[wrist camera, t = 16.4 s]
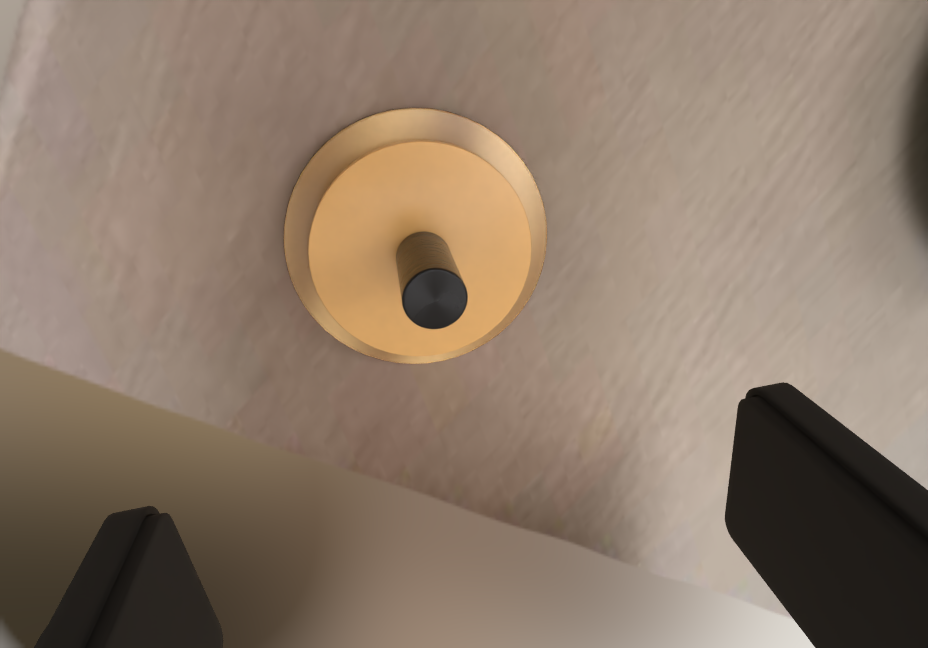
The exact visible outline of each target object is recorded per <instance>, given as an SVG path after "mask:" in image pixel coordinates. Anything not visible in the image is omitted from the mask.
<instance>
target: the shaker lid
mask: <svg viewBox="0 0 928 648" xmlns="http://www.w3.org/2000/svg"><path fill="white" fill-rule="evenodd" d="M531 251H532V246H531V233H530V227H529V222H528V219H527V215H526V212H525V209H524V207H523V205H522V203H521V201H520V199H519V197H518V195H517V193H516V192H515V190H514V189H513V187H512V186H511V184H510V183H509V182H508V181H507V180H506V179H505V177H504V176H503V175H502V174H501V173H500V172H499V171H498V170H497V169H495V168H494V167H493V166H492V165H491V164H490V163H488V162H487V161H486V160H484V159H483V158H481V157H479V156H478V155H476V154H475V153H473V152H471V151H468V150H466V149H464V148H462V147H459V146H456V145H453V144H449V143H446V142H440V141H433V140H409V141H400V142H396V143H392V144H388V145H385V146H382V147H380V148H377V149H375V150H372V151H370V152H368V153H367V154H365V155H363V156H361V157H360V158H358V159H356V160H355V161H354V162H353V163H351V164H350V165H349V166H347V167H346V168H345V169H344V170H343V171H342V172H341V173H340V174H339V175H338V176H337V177H336V178H335V179H334V180H333V182H332V183H331V185H330V186H329V187H328V189H327V190H326V192H325V193H324V195H323V197H322V199H321V201H320V203H319V205H318V207H317V210H316V212H315V215H314V218H313V221H312V225H311V230H310V235H309V245H308V256H309V267H310V272H311V276H312V280H313V283H314V286H315V288H316V291H317V294H318V295H319V297H320V299H321V301H322V303H323V305H324V306H325V308H326V309H327V310H328V312H329V313H330V315H331V316H332V317H333V318H334V319H335V320H336V321H337V323H338V324H339V325H340V326H341V327H342V328H344V329H345V330H346V331H347V332H349V333H350V334H351V335H352V336H354V337H355V338H357V339H359V340H360V341H362V342H363V343H365V344H368V345H370V346H372V347H374V348H376V349H379V350H382V351H385V352H388V353H393V354H398V355H404V356H432V355H438V354H444V353H447V352H451V351H455V350H457V349H460V348H462V347H465V346H467V345H469V344H471V343H473V342H475V341H477V340H478V339H480V338H481V337H483V336H484V335H486V334H487V333H488V332H490V331H491V330H492V329H493V328H494V327H496V326H497V325H498V324H499V323H500V322H501V321H502V320H503V319H504V317H505V316H506V315H507V314H508V313H509V312H510V310H511V309H512V307H513V306H514V304H515V303H516V301H517V299H518V297H519V295H520V294H521V292H522V290H523V287H524V284H525V282H526V279H527V276H528V272H529V267H530V262H531Z"/></svg>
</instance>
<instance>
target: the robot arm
mask: <svg viewBox="0 0 928 648" xmlns="http://www.w3.org/2000/svg"><path fill="white" fill-rule="evenodd" d="M725 522H726V526H727V529H728V532H729V534H730V536H731V537H732V539H733V540H734V542H735V543H736V544H737V546H738V547H739V548H740V550H741V551H742V552H743V554H744V555H745V556H746V557H747V559H748V560H749V561H750V563H751V564H752V565H753V567H754V568H755V569H756V571H757V572H758V573H759V574H760V576H761V577H762V578H763V580H764V581H765V582H766V584H767V585H768V586H769V588H770V589H771V590H772V591H773V593H774V594H775V595H776V597H777V598H778V599H779V601H780V602H781V603H782V605H783V606H784V607H785V608H786V610H787V611H788V612H789V614H790V615H791V616H792V618H793V619H794V620H795V622H796V623H797V624H798V625H799V627H800V628H801V629H802V631H803V632H804V633H805V634H806V636H807V637H808V639H809V640H810V641H811V642H812V644H813V645H814V646H815V648H928V490H927V489H925V488H924V487H923V486H921V485H920V484H919V483H918V482H916V481H915V480H914V479H912V478H911V477H910V476H909V475H907V474H906V473H905V472H903V471H902V470H901V469H899V468H898V467H897V466H896V465H894V464H893V463H892V462H890V461H889V460H888V459H887V458H885V457H884V456H883V455H881V454H880V453H879V452H877V451H876V450H875V449H874V448H872V447H871V446H870V445H868V444H867V443H866V442H865V441H863V440H862V439H861V438H859V437H858V436H857V435H856V434H854V433H853V432H852V431H850V430H849V429H848V428H846V427H845V426H844V425H843V424H841V423H840V422H839V421H837V420H836V419H835V418H834V417H832V416H831V415H830V414H828V413H827V412H826V411H825V410H823V409H822V408H821V407H819V406H818V405H817V404H815V403H814V402H813V401H812V400H810V399H809V398H808V397H806V396H805V395H804V394H803V393H801V392H800V391H799V390H797V389H796V388H795V387H793V386H792V385H790V384H788V383H777V384H772V385H767V386H762V387H757V388H753V389H750V390H749V391H748V392H747V394H746V398H745V399H743V400H741V401H740V402H739V405H738V411H737V419H736V427H735V436H734V444H733V453H732V461H731V469H730V478H729V486H728V494H727V503H726V511H725ZM34 648H223V635H222V630H221V626H220V623H219V621H218V619H217V617H216V615H215V612H214V610H213V608H212V606H211V604H210V602H209V599H208V597H207V595H206V593H205V590H204V588H203V586H202V584H201V581H200V579H199V577H198V575H197V573H196V570H195V568H194V566H193V564H192V562H191V560H190V557H189V555H188V553H187V551H186V548H185V546H184V544H183V542H182V539H181V537H180V535H179V533H178V531H177V528H176V526H175V524H174V522H173V520H172V518H171V516H170V515H169V514H167V513H162V514H160V513H159V512H158V510H157V509H156V508H155V507H153V506H147V507H142V508H137V509H132V510H127V511H122V512H117V513H113V514H111V515H109V516H108V517H107V518H106V520H105V521H104V523H103V524H102V526H101V528H100V530H99V532H98V534H97V536H96V537H95V540H94V541H93V543H92V545H91V547H90V548H89V551H88V552H87V554H86V556H85V558H84V560H83V561H82V563H81V565H80V567H79V569H78V571H77V572H76V574H75V576H74V578H73V580H72V582H71V584H70V585H69V587H68V589H67V591H66V593H65V595H64V597H63V598H62V600H61V602H60V604H59V606H58V608H57V609H56V611H55V613H54V615H53V617H52V619H51V621H50V622H49V624H48V626H47V627H46V629H45V630H44V631H43V633H42V634H41V636H40V638H39V639H38V641H37V643H36V645H35V647H34Z"/></svg>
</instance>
